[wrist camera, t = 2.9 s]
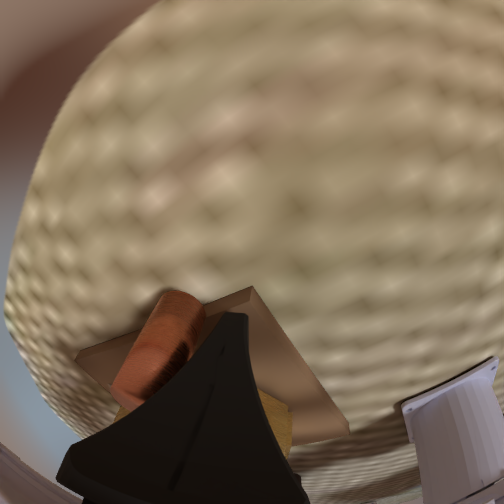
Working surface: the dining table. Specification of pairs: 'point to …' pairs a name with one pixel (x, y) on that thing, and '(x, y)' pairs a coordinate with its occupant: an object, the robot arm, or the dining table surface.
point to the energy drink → (370, 502)
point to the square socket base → (262, 361)
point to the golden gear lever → (177, 361)
